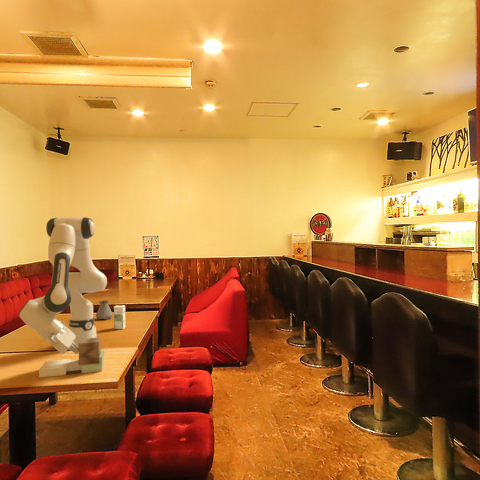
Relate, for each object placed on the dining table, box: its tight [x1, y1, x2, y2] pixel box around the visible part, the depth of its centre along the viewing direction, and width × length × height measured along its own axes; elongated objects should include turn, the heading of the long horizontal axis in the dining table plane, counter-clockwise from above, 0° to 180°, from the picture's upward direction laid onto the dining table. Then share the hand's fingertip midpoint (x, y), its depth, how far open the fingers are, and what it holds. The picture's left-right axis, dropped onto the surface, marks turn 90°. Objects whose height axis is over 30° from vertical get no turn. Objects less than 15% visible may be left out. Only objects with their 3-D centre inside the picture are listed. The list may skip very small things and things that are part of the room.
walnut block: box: [78, 337, 102, 365], centre depth 161 cm, size 8×8×9 cm
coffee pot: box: [95, 299, 114, 320], centre depth 261 cm, size 21×12×15 cm, turn 18°
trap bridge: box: [38, 349, 105, 378], centre depth 159 cm, size 24×12×6 cm, turn 106°
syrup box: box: [113, 304, 126, 330], centre depth 235 cm, size 6×6×14 cm
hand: (78, 351), depth 160 cm, fingers closed, pressing on walnut block
